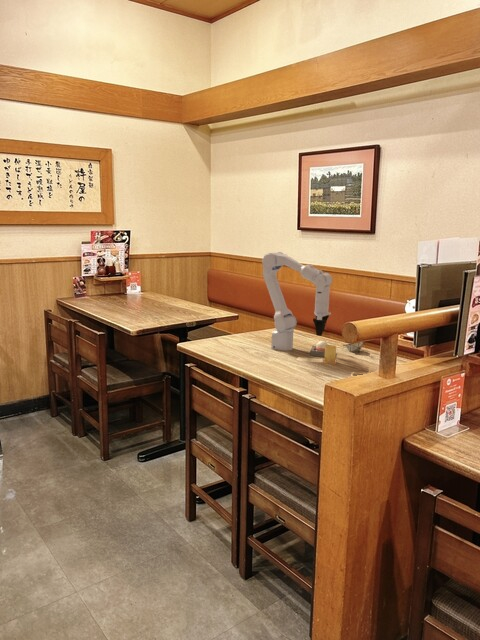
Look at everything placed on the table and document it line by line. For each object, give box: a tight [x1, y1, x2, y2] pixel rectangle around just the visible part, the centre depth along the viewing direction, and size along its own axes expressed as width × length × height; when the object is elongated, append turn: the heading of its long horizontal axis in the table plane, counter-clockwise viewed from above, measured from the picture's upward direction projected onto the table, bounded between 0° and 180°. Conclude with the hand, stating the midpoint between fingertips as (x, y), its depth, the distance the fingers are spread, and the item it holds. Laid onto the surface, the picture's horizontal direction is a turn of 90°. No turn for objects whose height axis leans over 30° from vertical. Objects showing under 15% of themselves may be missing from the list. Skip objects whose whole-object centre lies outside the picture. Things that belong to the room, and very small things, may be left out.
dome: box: [315, 340, 329, 351], centre depth 216 cm, size 6×6×5 cm
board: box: [296, 356, 337, 365], centre depth 212 cm, size 17×22×1 cm
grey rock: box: [342, 341, 366, 353], centre depth 224 cm, size 9×8×10 cm
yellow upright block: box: [323, 344, 337, 364], centre depth 205 cm, size 4×4×6 cm
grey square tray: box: [309, 345, 325, 358], centre depth 217 cm, size 9×9×2 cm
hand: (320, 333), depth 213 cm, fingers open, 7 cm apart
